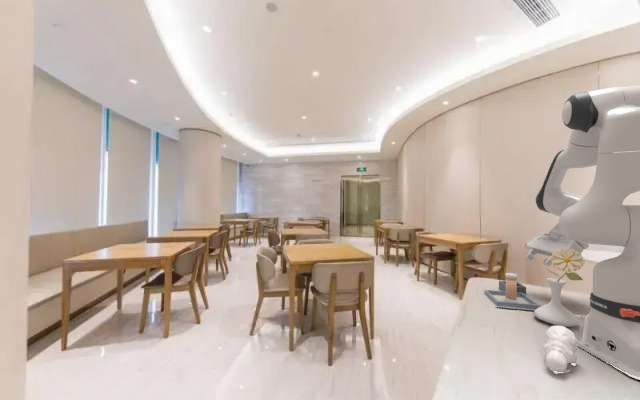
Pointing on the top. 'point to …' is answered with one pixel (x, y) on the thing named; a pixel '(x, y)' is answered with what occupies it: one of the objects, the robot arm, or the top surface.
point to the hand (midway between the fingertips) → (536, 261)
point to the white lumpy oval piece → (560, 348)
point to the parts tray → (511, 304)
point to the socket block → (519, 287)
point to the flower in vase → (554, 309)
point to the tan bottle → (511, 287)
